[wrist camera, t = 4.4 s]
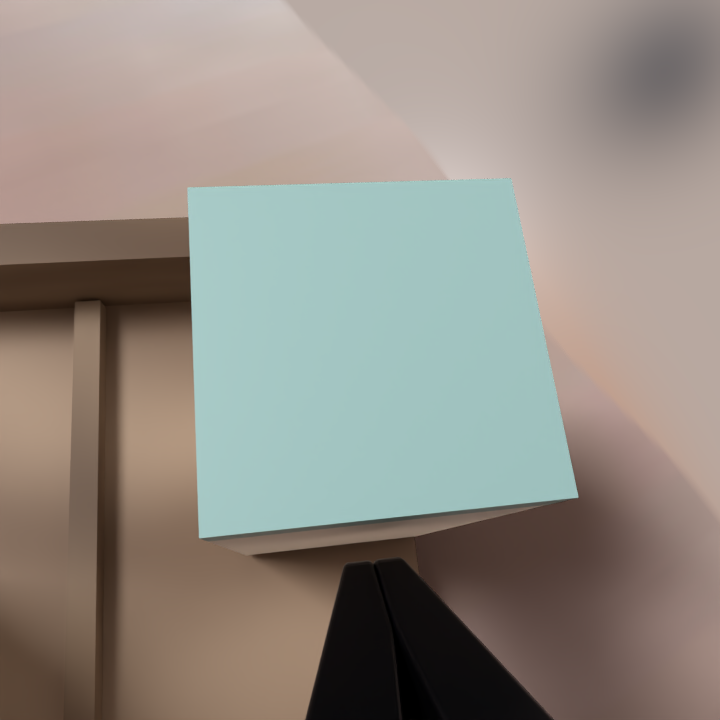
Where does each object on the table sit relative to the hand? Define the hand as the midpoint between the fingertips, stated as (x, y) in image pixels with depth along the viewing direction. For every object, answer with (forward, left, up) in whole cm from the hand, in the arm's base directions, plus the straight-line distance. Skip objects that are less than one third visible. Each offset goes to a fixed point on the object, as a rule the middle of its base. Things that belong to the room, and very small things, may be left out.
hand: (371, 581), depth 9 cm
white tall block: (+2, +2, -6) cm, 6 cm away
